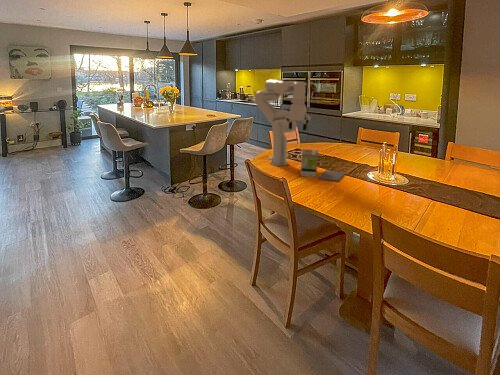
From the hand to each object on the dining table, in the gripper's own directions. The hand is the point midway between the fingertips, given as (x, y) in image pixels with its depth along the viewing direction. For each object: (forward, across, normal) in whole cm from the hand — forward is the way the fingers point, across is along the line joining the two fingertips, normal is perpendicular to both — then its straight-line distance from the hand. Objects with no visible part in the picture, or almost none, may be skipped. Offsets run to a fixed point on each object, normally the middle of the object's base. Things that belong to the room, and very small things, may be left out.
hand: (297, 129), depth 221 cm
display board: (+28, +25, -1) cm, 37 cm away
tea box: (+28, +10, -1) cm, 30 cm away
